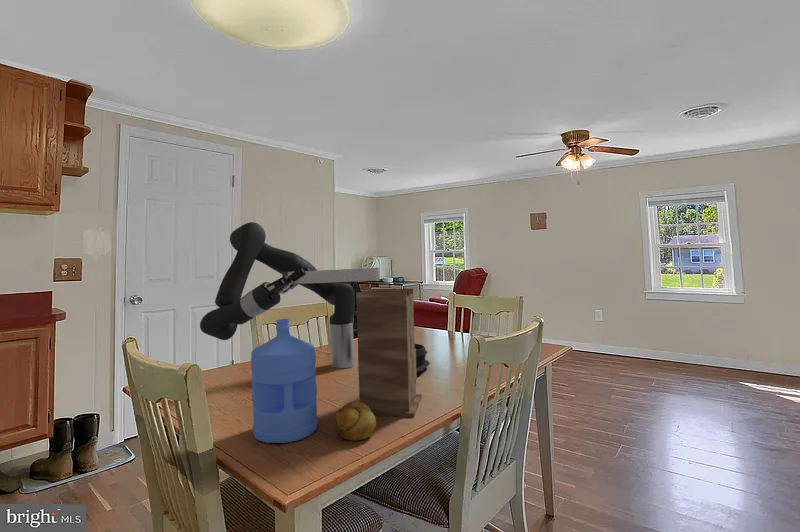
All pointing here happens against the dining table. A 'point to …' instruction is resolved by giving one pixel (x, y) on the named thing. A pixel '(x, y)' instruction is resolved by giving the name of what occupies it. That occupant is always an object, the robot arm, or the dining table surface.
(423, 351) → the casserole
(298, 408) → the water jug
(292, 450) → the dining table surface
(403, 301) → the stand
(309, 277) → the steel bar
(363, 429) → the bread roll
